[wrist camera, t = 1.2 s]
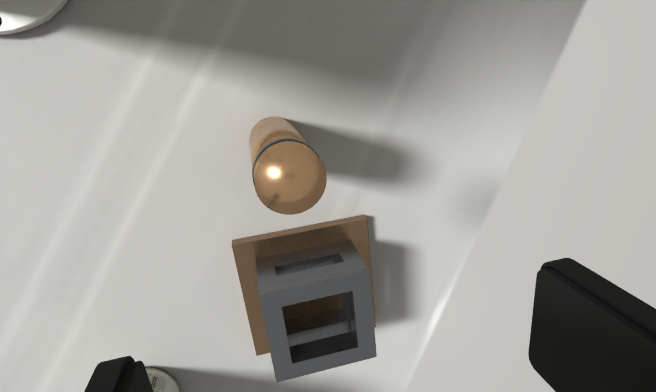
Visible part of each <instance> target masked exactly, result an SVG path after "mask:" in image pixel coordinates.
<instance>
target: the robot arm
mask: <svg viewBox="0 0 656 392" xmlns="http://www.w3.org/2000/svg"><path fill="white" fill-rule="evenodd" d="M67 1H68V0H0V17H1V19H2V24H1V25H0V35H2V34H14V33H18V32H22V31H26V30H30V29H33V28H35V27H37V26H39V25H41V24H43V23H45V22H47V21H48V20H49V19H51V18H52V17H53V16H54V15H55V14H57V13H58V12H59V11H60V10H61V9H62V8H63V7H64V5H65V4H66V3H67ZM529 360H530V362H531V364H532V366H533V368H534V369H535V370H536V371H537V372H538V373H539V374H540V376H541V377H542V378H543V379H544V380H545V381H546V382H547V383H548V384H549V385H550V386H551V387H552V388H553V389H554V390H555V391H556V392H656V309H655V308H653V307H652V306H650V305H648V304H646V303H645V302H643V301H642V300H640V299H638V298H637V297H635V296H633V295H631V294H630V293H628V292H626V291H625V290H623V289H621V288H620V287H618V286H616V285H615V284H613V283H611V282H610V281H608V280H606V279H605V278H603V277H601V276H600V275H598V274H596V273H595V272H593V271H591V270H590V269H588V268H586V267H585V266H583V265H581V264H580V263H578V262H576V261H575V260H573V259H570V258H563V259H559V260H554V261H550V262H546V263H544V264H543V265H542V267H541V270H540V271H539V272H538V273H537V278H536V288H535V297H534V307H533V317H532V326H531V335H530V345H529ZM85 392H154V391H153V388H152V386H151V383H150V380H149V377H148V374H147V371H146V369H145V366H144V364H143V362H142V361H137V362H135V361H134V359H133V358H132V357H131V356H126V357H122V358H117V359H113V360H109V361H104V362H101V363H99V364H98V365H97V367H96V368H95V370H94V372H93V375H92V377H91V379H90V381H89V383H88V385H87V387H86V389H85Z"/></svg>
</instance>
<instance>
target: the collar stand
mask: <svg viewBox="0 0 656 392" xmlns="http://www.w3.org/2000/svg"><path fill="white" fill-rule="evenodd" d="M232 248H233V253H234V257H235V262H236V266H237V271H238V275H239V279H240V284H241V288H242V293H243V297H244V302H245V306H246V310H247V315H248V319H249V324H250V328H251V333H252V337H253V341H254V346H255V350H256V355H262V354H266V353H271V358H272V362H273V367H274V372H275V377H276V382H280V381H284V380H288V379H292V378H296V377H300V376H303V375H307V374H311V373H315V372H319V371H323V370H327V369H331V368H335V367H338V366H342V365H346V364H350V363H354V362H358V361H362V360H366V359H369V358H373V357H377V356H376V344H375V332H374V327H376V325H375V313H374V300H373V288H372V275H371V263H370V250H369V238H368V226H367V218H366V217H365V216H364V215H360V216H355V217H350V218H345V219H340V220H334V221H329V222H324V223H319V224H314V225H309V226H303V227H298V228H293V229H288V230H283V231H278V232H272V233H267V234H262V235H257V236H252V237H247V238H241V239H236V240H232Z"/></svg>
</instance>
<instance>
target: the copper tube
mask: <svg viewBox="0 0 656 392" xmlns="http://www.w3.org/2000/svg"><path fill="white" fill-rule="evenodd" d="M249 142H250V151H251V159H252V167H253V168H252V175H253V182H254V186H255V190H256V193H257V195H258V197H259V199H260V200H261V201H262V203H263V204H264V205H265V206H266V207H268V208H269V209H271V210H273V211H275V212H277V213H281V214H298V213H301V212H304V211H306V210H308V209H310V208H311V207H313V206H314V205H315V204H316V203H317V202H318V201H319V199H320V198H321V196H322V195H323V193H324V190H325V186H326V171H325V168H324V165H323V163H322V161H321V160H320V158H319V156H318V155H317V153H316V152H315V151H314V150H313V149H312V148H311V147H310V146H309V145H308V144H307V142H306V141H305V140H304V139H303V137H302V136H301V135H300V134H299V132H298V131H297V130H296V129H295V128H294V126H293V125H292V124H291V123H290V122H288V121H287V120H285V119H283V118H279V117H269V118H265V119H263V120H261V121H260V122H258V123H257V124H256V125H255V126H254V128H253V129H252V131H251V134H250V141H249Z"/></svg>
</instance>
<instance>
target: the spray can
mask: <svg viewBox="0 0 656 392" xmlns="http://www.w3.org/2000/svg"><path fill="white" fill-rule="evenodd" d="M145 369H146V371H147V374H148V377H149V380H150V383H151V386H152V388H153V391H154V392H179V386H178V384H177V382H176V380H175V379H174V378H172V377H171V376H169V375H168V374H167V373H166V372H164V371H161V370H158V369H156V368H152V367H150V368H145Z"/></svg>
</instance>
